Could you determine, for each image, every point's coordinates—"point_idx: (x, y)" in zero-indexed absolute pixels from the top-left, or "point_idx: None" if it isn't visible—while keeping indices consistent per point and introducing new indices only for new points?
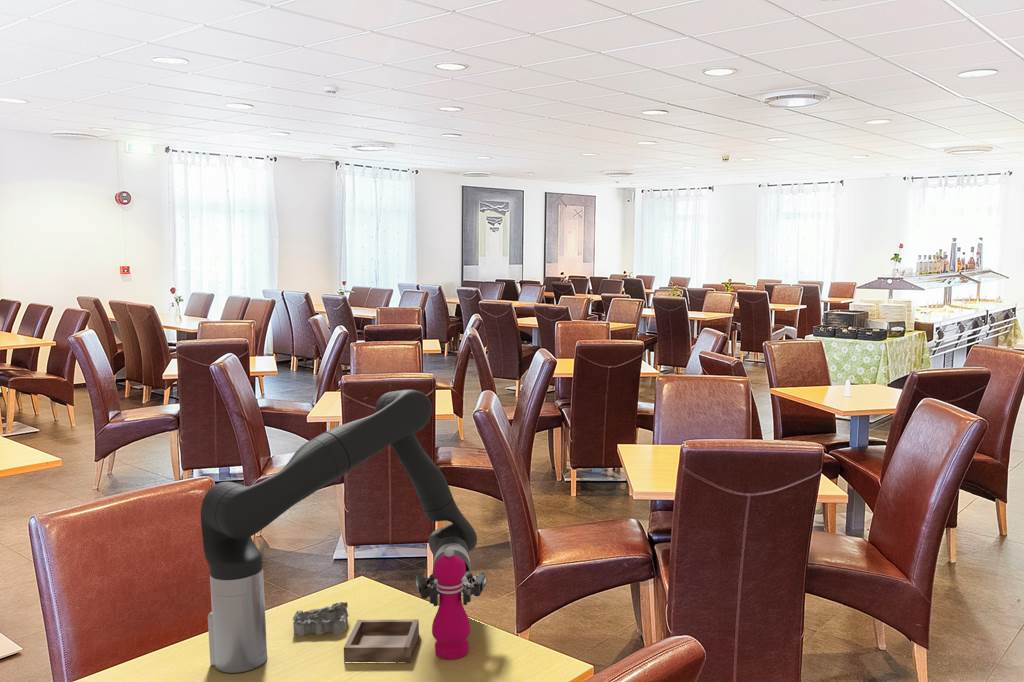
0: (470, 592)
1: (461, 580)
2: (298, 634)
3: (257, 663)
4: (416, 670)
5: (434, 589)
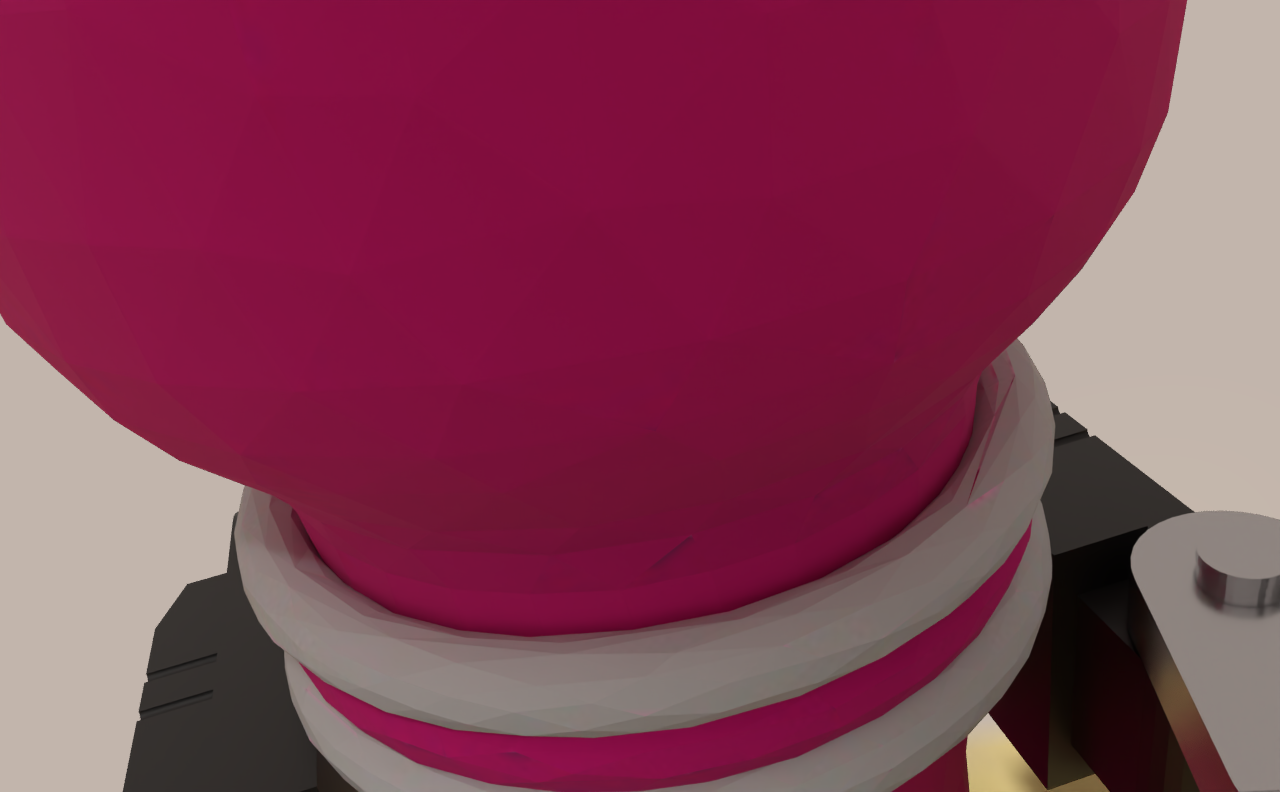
0: (147, 688)
1: (285, 528)
2: None
3: None
4: (990, 786)
5: (1054, 468)
